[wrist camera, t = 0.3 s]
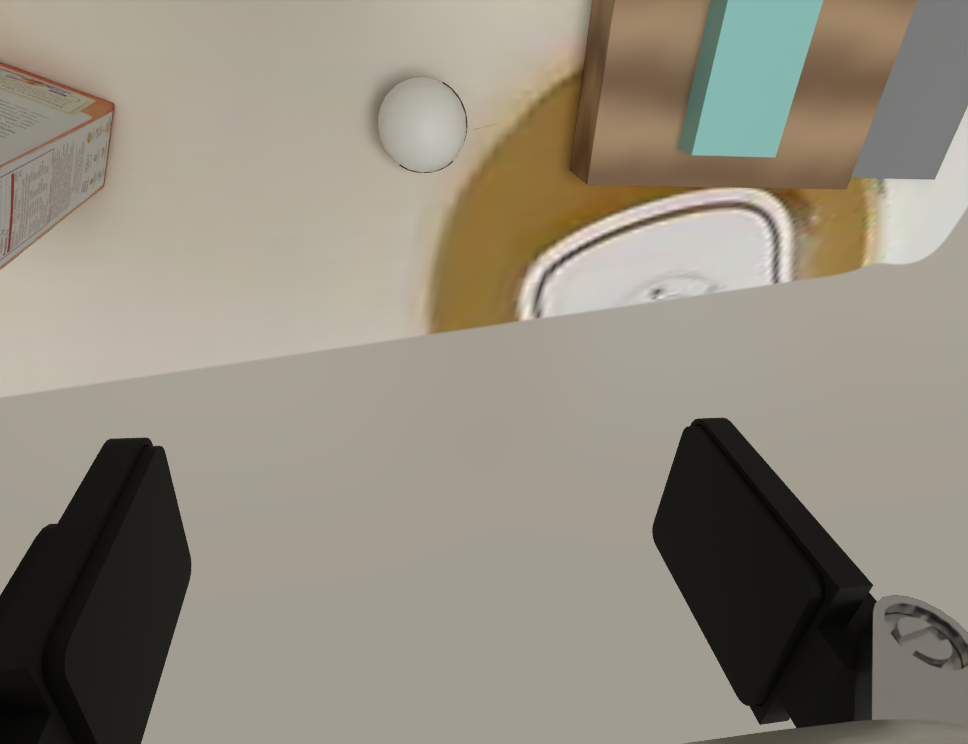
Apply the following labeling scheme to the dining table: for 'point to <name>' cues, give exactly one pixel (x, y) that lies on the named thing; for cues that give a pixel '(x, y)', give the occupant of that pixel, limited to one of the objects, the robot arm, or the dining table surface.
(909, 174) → the mat
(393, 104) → the white sphere
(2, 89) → the cracker box
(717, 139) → the teal rectangular block
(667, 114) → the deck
